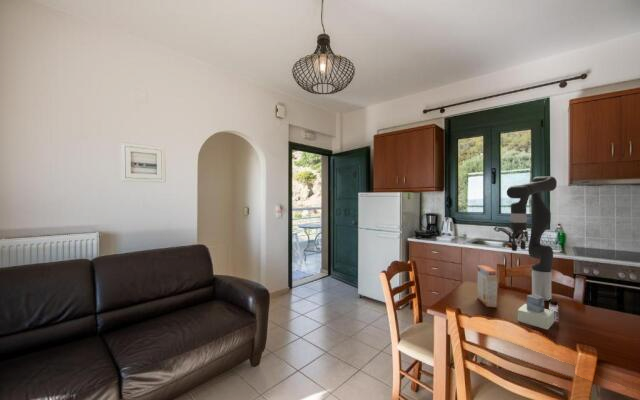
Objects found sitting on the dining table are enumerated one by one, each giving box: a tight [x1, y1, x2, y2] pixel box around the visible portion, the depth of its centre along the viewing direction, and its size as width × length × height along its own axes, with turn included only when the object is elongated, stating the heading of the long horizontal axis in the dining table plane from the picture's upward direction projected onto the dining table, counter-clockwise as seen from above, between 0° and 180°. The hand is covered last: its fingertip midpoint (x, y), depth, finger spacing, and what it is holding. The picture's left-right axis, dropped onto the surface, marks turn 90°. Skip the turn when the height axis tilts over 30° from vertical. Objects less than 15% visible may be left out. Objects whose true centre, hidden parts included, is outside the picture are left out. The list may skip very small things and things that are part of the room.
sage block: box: [517, 303, 555, 331], centre depth 136 cm, size 12×12×6 cm
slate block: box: [526, 293, 545, 313], centre depth 136 cm, size 5×5×7 cm
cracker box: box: [477, 264, 498, 308], centre depth 160 cm, size 14×6×21 cm, turn 168°
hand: (518, 249), depth 152 cm, fingers open, 8 cm apart
